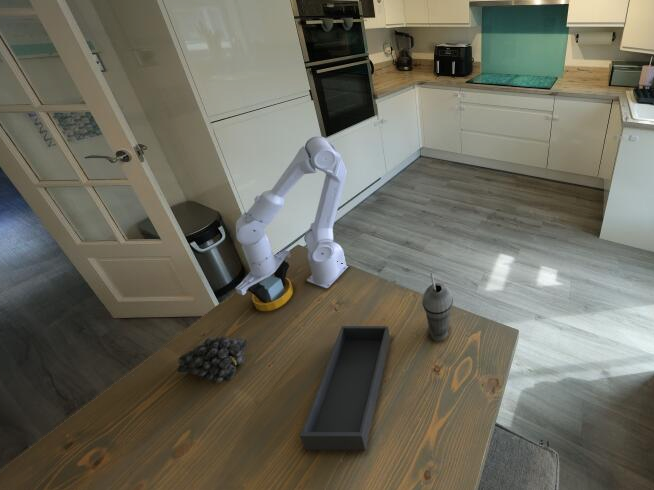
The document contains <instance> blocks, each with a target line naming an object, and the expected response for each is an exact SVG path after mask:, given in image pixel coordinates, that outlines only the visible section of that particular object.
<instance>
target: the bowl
mask: <svg viewBox="0 0 654 490" xmlns="http://www.w3.org/2000/svg"><path fill="white" fill-rule="evenodd" d="M293 287H294V286H293V284H292V282H291V280H290V279H289V278H288V277H286V279H285V286H284V290H285V294H284V295H283V296H281V297H280V298H278V299H277V300H275V301H273V302H266V303H263V302H261V301H259V299H258V298H257V297H256V296H255V295H254V294H253V293H252V296H251V300H252V302H253V305H254V307H255V309H256V310H258V311H260V312H269V311H274V310H276V309H279V308H281V307H282V306H283V305H285V304H286V303H287V302H288V301H289V300H290V299H291V297H292V295H293V291H294V288H293Z"/></svg>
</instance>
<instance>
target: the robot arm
mask: <svg viewBox="0 0 654 490" xmlns="http://www.w3.org/2000/svg"><path fill="white" fill-rule="evenodd" d="M317 170H318V171H321V172H323V173H324V174H325V176H324V181H323V185H322V189H321V193H320V197H319V202H318V205H317V208H316V213H315V217H314V221H313V222H311V224H310V226H309V228H308V230H307V231H306V232H305V233H304V238H303V239H304V242H305V244H306V247H307V250H308V252H307V255H306V256H307V261H308V265H309V268H310V271H311V275H310V276H309V277H308V278H307V279H306V281H307V282H308V283H310V284H313V285H316V286H318V287H321V288H325V289H329V288H330V286H331V285H332V284H333V283H334V282H335V281H336V280H337V279H338V278H339V277H340V276H341V275H342V274H343V273H344V272H345V271H346V269H347V268H348V267H349V265H348V264H347V263H346V259H345V258H346V257H345V253H344V249H343V248H342V246H341V245H340V244H339V243H337V242H335V241H334V229H333V228H334V224H335V220H336V218H337V217H336V216H337V213H338V210H339V205H340V201H341V197H342V194H343V191H344V186H345V182H346V179H347V175H348V170H347V168H346V166H345V163H344V161H343V159H342V156H341V154H340V153H339V152H338V150H337V149H336V147H335V146H334V144H332V143H331V142H330V141H329V140H328V138H326V137H324V136H321V135H314V136H311V137H310V138H309V139H308V140H307V141H305V144H304V145H302V146H301V148H299V149H298V151H297V153H296V155H295V156H294V157H293V159H292V160H291V162H290V163H289V165H288V166H287V168H285V170H284V172H283V173H282V174H281V176H280V177H279V178H278V180H277V181H276V183H275V184H274V185H273V187H272V188H271V189H269V190H265V191H263V192H261V194H260V195H256V196H255V197H254V199H253V200H254V203H253V204H252V205H251V207H250V208H249V209H248V210H247V211H246V212H243V214H242V215H241V216H240V217H239V218H238V219H237V220H236V223H235V237H236V240H237V241H238V243H240V244H241V249H242V251H243V254H244V257H245V259H246V262H247V264H248V267H249V269H250V271H249V273H248V274H247V275H246V276H245V278H244V279H242V281H241V282H240V283H239V284H238V285H237V286H236V287H235V290H236V294H239V295H240V296H244V295H245V294H247V292H250V293H251V294H252V295H253V294H254V295H255V296H256V297H257V298H258V299H259V301H261V302H263V303H266V302H267V298H266V295H265V290H264V288H265V286H263V285H261V284H260V283H261V282H262V281H264V280H265V279H266V278H267V277H269V276H270V275H272V276H274V277H277V278H280V279H281V281H282V284H283V287H284V286H285V279H286V278H287V273H288V270H289V269H290V268H289V267H290V264H289V262H288V261H286V259H287V260H288V259H289V258H291V257H292V256H291V255H292V254H291V252H290V250H287V249H283V250H282V251H281V252H279V253H276V254H275V255H274V252H273V249H272V247H271V243H270V240H269V237H268V236H267V235H266V228H267V226H268V225H269V224H270V223H271V222H272V221H273V219H274V218H275V217H276V215H278V213H279V212H280V210H281V209H282V208H283V206H284V205H285V203H286V201H285V196H286V195H287V194H288V193H289V192H290V191H291V190H292V189H293V188H294V187H295V185H296V184H297V183H298V182H299V181H300V180H301V179H302V177H303V176H304V175H308V174H316V173H317ZM337 261H338V262H337ZM341 263H343V264H341ZM347 265H348V266H347Z"/></svg>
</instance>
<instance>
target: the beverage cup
mask: <svg viewBox="0 0 654 490" xmlns="http://www.w3.org/2000/svg"><path fill="white" fill-rule="evenodd" d="M430 279H431V285H429V286H428V287H427V288H426V289H425V291H424V294H423V297H422V302H421V303H422V307H423V309H424V312H425V315H426V320H427V327H428V332H429V334H430V335H429V336H430V337H431V339H432V340H434V341H436V342H440V341H441V342H442V341H443V340H445V339H446V338H447V336H448V335H449V328H450V318H451V317H450V316H451V310H452V306H453V304H454V303H453V301H454V299H453V295H452V292H451V290H450V288H449V287H448V285H446V284H444V283H441V282H435V277H434V273H433V272H430Z"/></svg>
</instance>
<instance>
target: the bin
mask: <svg viewBox="0 0 654 490" xmlns="http://www.w3.org/2000/svg"><path fill="white" fill-rule="evenodd" d="M390 337H391V336H390V329H389V326H388V325H342V326H341V328H340V329H339V333H338V335H337V338H336V340H335V343H334V345H333V348H332V351H331V353H330V356H329V357H328V358H329V359H328V361H327V364H326V366H325V368H324V372H323V375H322V376H321V379H320V381H319V384H318V387H317V390H316V393H315V395H314V397H313V401H312V403H311V405H310V408H309V411H308V414H307V416H306V419H305V421H304V424H303V426H302V429H301V432H300V435H299V437H300V440H301V442H302V445H303V448H304V450H305V451H366V449H367V444H368V439H369V436H370V431H371V426H372V423H373V418H374V415H375V414H374V413H375V409H376V404H377V400H378V395H379V390H380V387H381V382H382V377H383V373H384V369H385V364H386V359H387V355H388V350H389V346H390V341H391V338H390Z"/></svg>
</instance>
